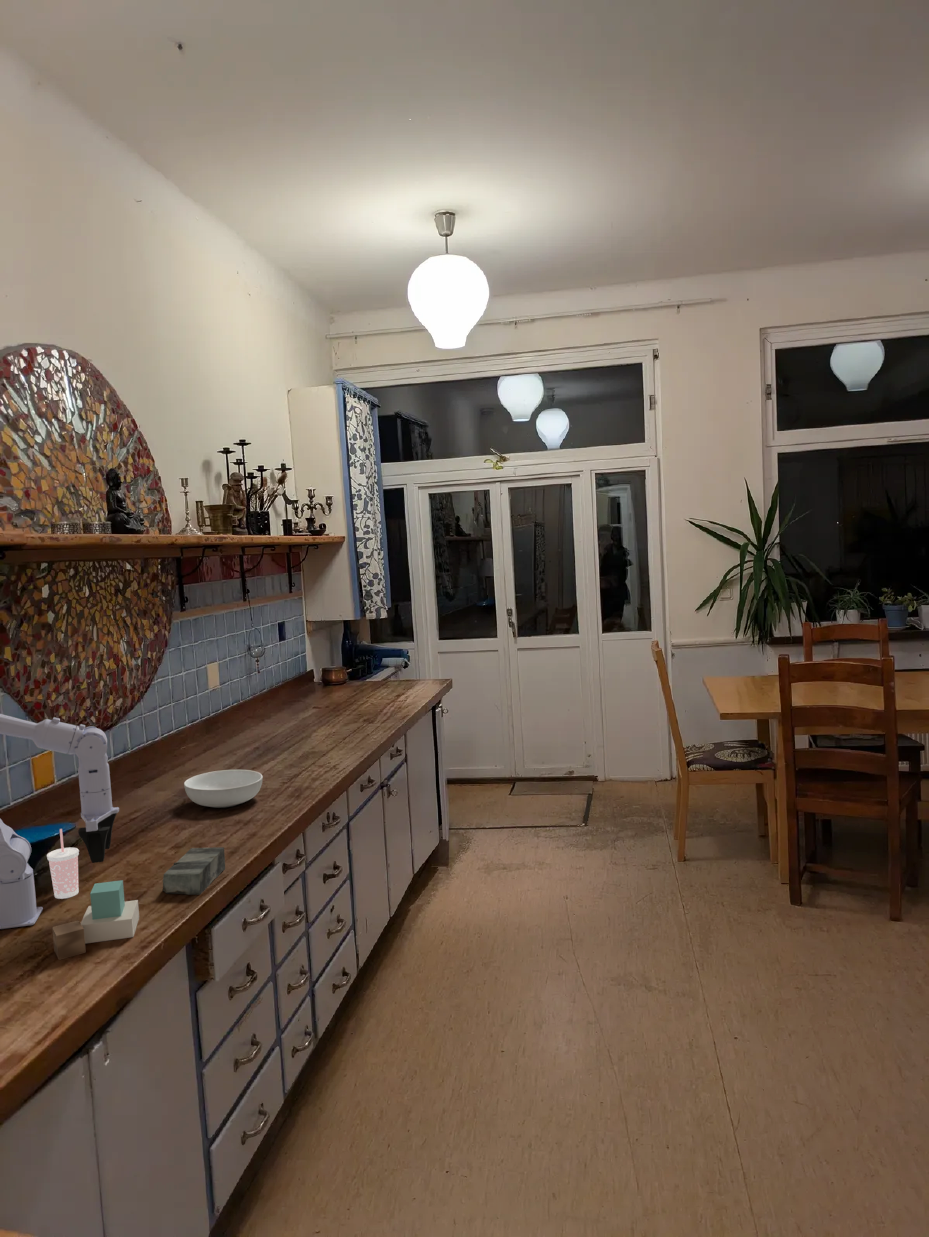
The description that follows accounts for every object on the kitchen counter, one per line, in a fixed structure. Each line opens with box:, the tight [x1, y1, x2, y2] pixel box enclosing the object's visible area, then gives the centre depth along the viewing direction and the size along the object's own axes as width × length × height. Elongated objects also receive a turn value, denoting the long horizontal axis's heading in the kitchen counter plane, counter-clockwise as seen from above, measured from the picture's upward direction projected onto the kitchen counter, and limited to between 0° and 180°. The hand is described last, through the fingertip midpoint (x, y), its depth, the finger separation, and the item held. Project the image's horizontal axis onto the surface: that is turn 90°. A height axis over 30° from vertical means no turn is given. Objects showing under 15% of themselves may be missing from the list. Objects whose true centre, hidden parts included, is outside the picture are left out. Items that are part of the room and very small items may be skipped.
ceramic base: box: [80, 899, 140, 944], centre depth 171 cm, size 9×9×4 cm
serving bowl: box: [183, 769, 264, 809], centre depth 250 cm, size 21×21×7 cm
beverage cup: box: [46, 828, 80, 900], centre depth 189 cm, size 6×6×14 cm
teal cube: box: [89, 879, 125, 920], centre depth 171 cm, size 5×5×5 cm
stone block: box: [162, 846, 226, 896], centre depth 194 cm, size 9×14×5 cm, turn 174°
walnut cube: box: [51, 920, 87, 960], centre depth 163 cm, size 4×4×4 cm
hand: (101, 855), depth 182 cm, fingers open, 7 cm apart
